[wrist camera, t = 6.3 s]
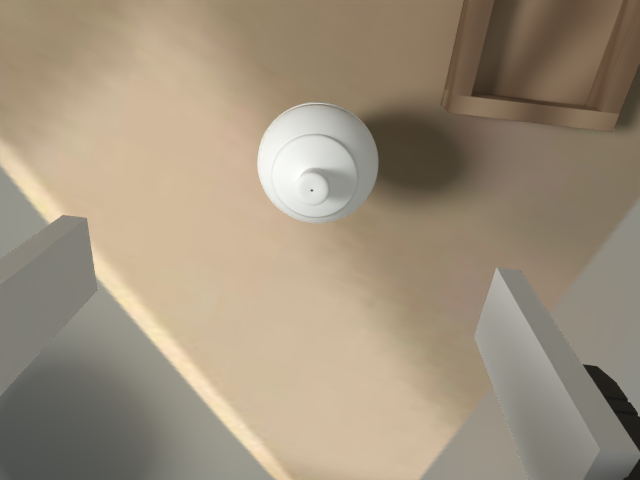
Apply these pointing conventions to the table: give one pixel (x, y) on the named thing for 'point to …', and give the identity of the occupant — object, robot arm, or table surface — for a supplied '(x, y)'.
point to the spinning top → (317, 162)
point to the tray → (545, 61)
